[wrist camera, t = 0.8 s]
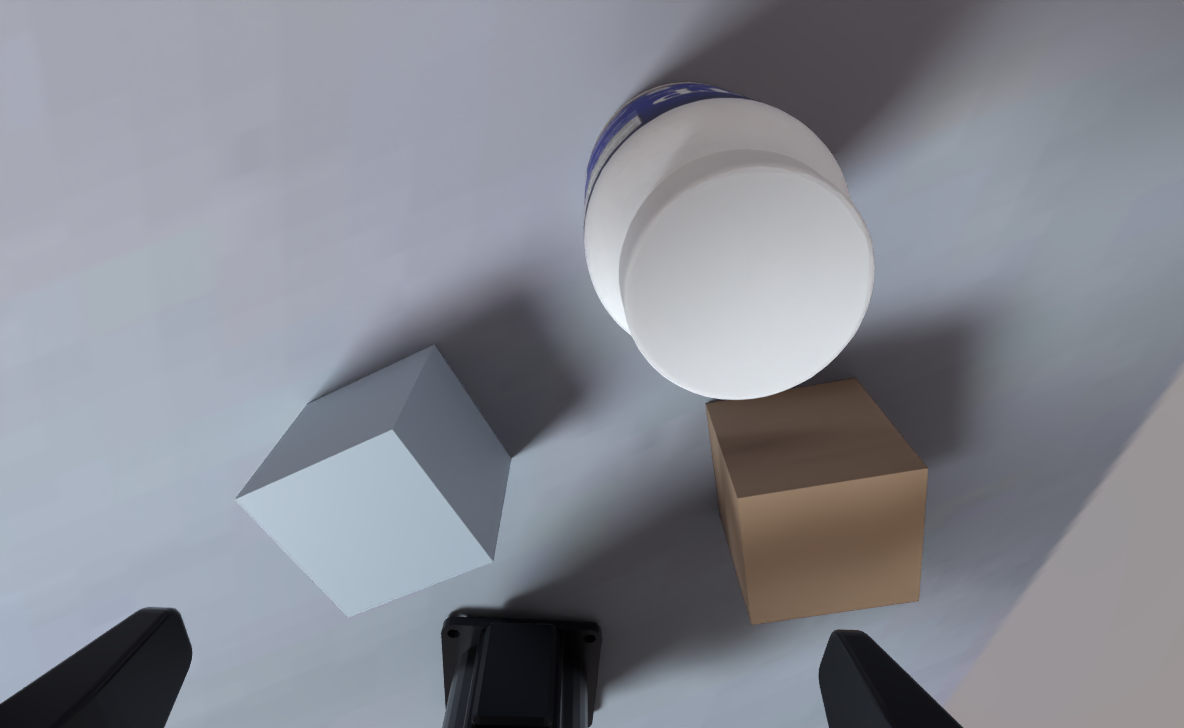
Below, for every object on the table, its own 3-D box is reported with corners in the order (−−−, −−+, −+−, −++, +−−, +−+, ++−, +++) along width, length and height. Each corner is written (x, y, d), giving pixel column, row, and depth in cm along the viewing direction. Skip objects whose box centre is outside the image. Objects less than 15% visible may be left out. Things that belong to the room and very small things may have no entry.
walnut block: (854, 493, 23) (918, 601, 19) (719, 514, 23) (751, 624, 19) (854, 376, 21) (928, 468, 16) (705, 402, 21) (737, 498, 17)
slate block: (511, 457, 22) (493, 561, 18) (393, 506, 23) (348, 617, 19) (434, 342, 20) (392, 429, 16) (308, 402, 21) (234, 499, 17)
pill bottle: (805, 123, 17) (996, 196, 9) (721, 293, 19) (816, 469, 11) (624, 48, 16) (663, 56, 8) (558, 235, 18) (539, 383, 10)
